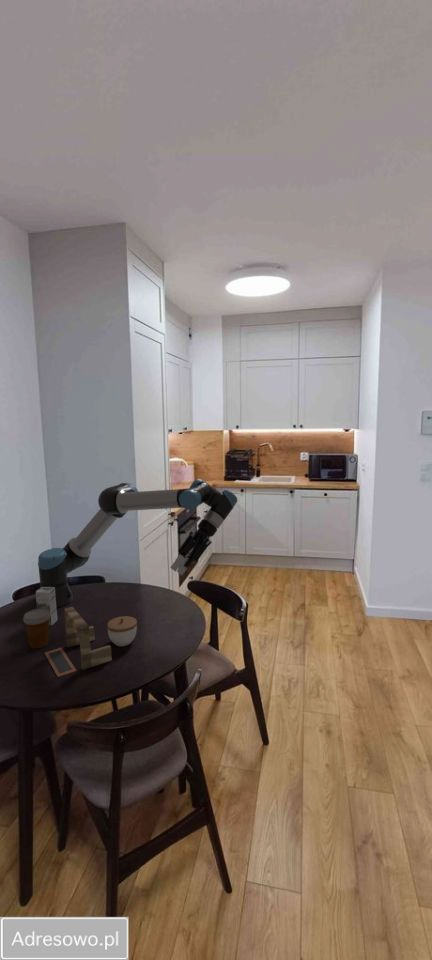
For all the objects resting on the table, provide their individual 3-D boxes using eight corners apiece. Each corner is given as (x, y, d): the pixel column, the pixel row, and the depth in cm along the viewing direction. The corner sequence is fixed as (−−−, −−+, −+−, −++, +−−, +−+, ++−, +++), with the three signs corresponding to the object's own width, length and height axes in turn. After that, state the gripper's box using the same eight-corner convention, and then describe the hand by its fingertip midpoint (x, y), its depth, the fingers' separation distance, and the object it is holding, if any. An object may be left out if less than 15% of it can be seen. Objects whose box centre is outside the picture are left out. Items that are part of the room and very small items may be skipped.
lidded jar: (127, 632, 175) (126, 609, 173) (143, 641, 167) (142, 618, 166) (102, 642, 167) (101, 618, 166) (118, 653, 160) (117, 628, 158)
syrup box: (58, 619, 187) (55, 586, 185) (51, 626, 181) (48, 592, 179) (44, 619, 187) (42, 586, 185) (37, 626, 182) (34, 591, 179)
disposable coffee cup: (30, 653, 161) (27, 622, 159) (21, 643, 168) (18, 613, 166) (57, 644, 167) (54, 613, 165) (47, 635, 174) (44, 605, 172)
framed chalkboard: (44, 653, 161) (44, 652, 161) (61, 648, 164) (61, 647, 164) (57, 677, 146) (57, 676, 146) (76, 671, 149) (76, 670, 149)
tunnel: (66, 646, 165) (63, 608, 163) (93, 638, 171) (91, 601, 169) (82, 669, 150) (80, 628, 148) (111, 660, 155) (109, 620, 153)
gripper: (228, 533, 178) (193, 583, 171) (204, 525, 192) (171, 570, 186) (216, 522, 174) (180, 572, 168) (193, 514, 189) (159, 560, 182)
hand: (176, 571), depth 177 cm, fingers open, 4 cm apart
